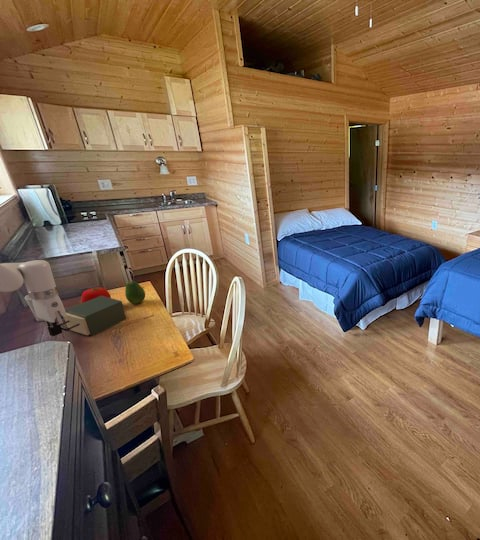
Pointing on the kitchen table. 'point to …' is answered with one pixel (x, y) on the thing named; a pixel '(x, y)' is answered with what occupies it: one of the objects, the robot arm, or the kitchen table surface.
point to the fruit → (134, 292)
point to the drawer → (75, 324)
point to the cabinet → (99, 313)
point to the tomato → (94, 294)
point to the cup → (32, 307)
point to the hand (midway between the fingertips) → (56, 334)
